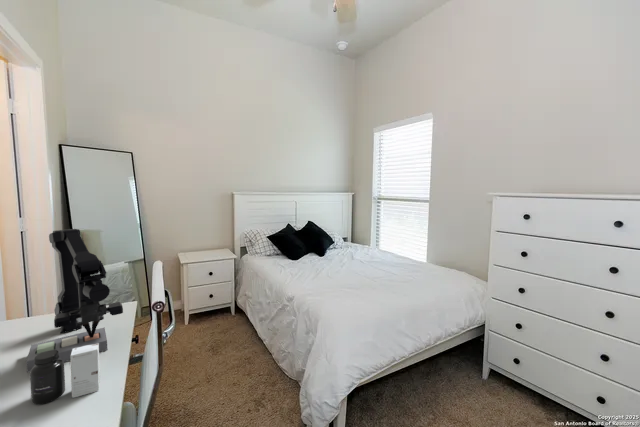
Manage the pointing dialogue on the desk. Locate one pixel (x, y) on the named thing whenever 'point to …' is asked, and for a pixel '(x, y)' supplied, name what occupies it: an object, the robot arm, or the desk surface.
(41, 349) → the sage key
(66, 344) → the cream key
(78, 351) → the skincare box
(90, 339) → the terracotta key
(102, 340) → the keyguard
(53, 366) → the supplement bottle
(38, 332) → the desk surface
